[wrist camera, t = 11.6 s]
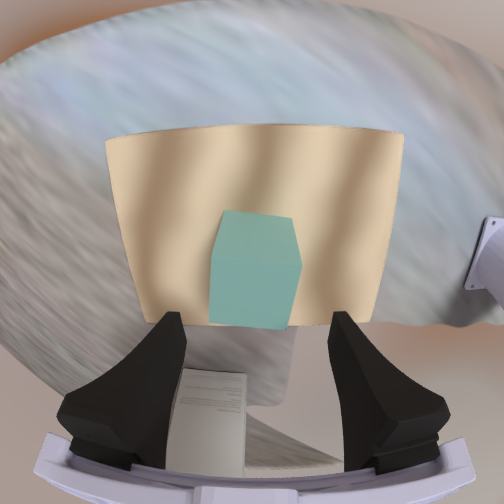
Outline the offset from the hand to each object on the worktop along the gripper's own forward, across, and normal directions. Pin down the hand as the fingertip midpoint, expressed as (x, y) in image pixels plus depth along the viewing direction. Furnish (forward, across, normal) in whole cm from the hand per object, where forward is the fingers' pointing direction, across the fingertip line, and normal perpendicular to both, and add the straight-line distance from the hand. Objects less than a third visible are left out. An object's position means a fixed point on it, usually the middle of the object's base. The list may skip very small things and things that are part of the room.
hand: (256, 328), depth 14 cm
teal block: (+8, 0, 0) cm, 8 cm away
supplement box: (+10, +5, +20) cm, 23 cm away
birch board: (+10, 0, 0) cm, 10 cm away
